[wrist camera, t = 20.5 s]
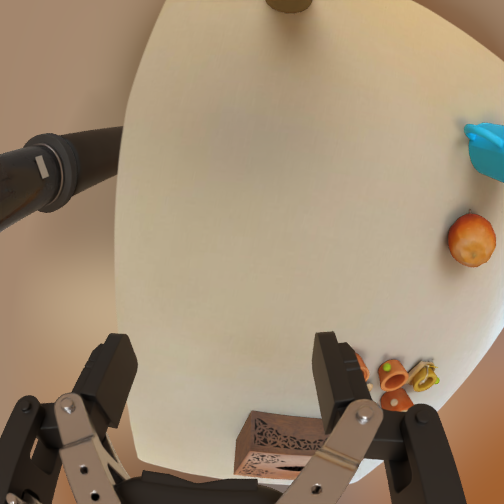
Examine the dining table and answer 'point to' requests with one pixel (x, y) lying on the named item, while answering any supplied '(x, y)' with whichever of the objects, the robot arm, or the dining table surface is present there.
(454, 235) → the fruit
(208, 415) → the dining table surface
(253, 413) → the tissue box cover
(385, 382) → the toy tea set
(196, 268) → the dining table surface
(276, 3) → the cork
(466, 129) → the mug
